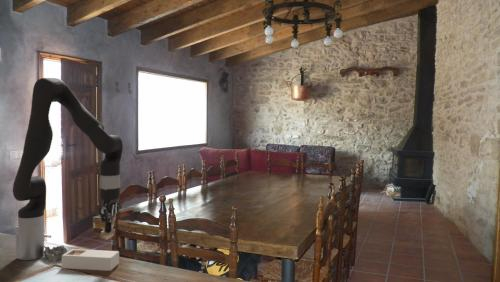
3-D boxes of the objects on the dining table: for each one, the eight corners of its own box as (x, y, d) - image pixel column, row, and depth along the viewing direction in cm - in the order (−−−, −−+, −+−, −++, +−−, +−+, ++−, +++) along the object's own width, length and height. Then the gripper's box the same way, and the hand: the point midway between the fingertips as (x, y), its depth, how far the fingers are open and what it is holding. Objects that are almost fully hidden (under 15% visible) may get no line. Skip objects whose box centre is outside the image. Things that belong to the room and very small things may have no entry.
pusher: (99, 237, 145) (104, 216, 145) (106, 233, 151) (111, 212, 151) (107, 239, 145) (112, 218, 144) (113, 235, 151) (118, 215, 150)
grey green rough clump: (42, 255, 159) (42, 245, 159) (62, 251, 164) (62, 242, 164) (48, 262, 151) (48, 252, 151) (68, 259, 156) (68, 249, 156)
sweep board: (61, 268, 146) (61, 255, 146) (72, 261, 154) (72, 248, 154) (110, 270, 145) (110, 257, 145) (119, 263, 152) (119, 251, 152)
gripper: (108, 183, 154) (108, 225, 155) (91, 189, 140) (91, 235, 141) (126, 183, 154) (126, 226, 155) (111, 189, 140) (111, 236, 141)
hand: (110, 230), depth 148 cm, fingers closed on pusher, 2 cm apart
